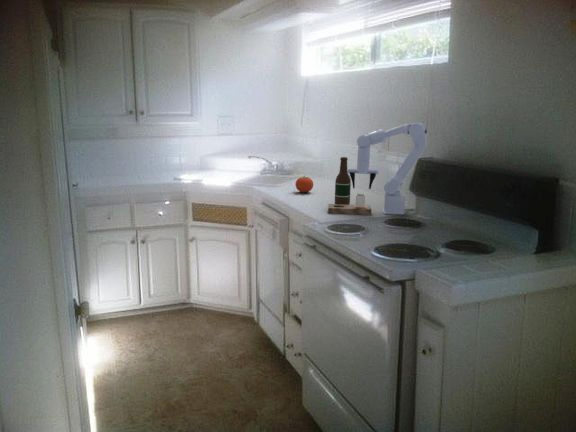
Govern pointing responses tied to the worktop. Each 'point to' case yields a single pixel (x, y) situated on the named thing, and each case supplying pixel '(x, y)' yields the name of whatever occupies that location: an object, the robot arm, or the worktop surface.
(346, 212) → the brown wooden flat block
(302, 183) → the tomato
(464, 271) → the worktop surface
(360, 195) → the plug
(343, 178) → the beer bottle
